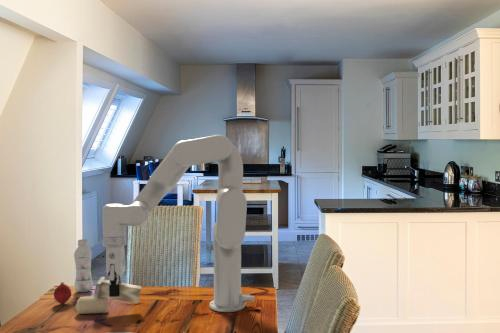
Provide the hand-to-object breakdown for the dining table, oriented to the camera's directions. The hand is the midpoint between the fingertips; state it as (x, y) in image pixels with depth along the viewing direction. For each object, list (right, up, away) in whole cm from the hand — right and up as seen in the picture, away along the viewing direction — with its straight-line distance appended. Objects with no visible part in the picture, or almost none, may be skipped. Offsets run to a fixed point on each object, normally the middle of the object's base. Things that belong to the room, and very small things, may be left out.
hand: (115, 294), depth 164 cm
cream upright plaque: (0, -1, 0) cm, 1 cm away
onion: (-21, -6, +8) cm, 23 cm away
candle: (-3, -3, 0) cm, 4 cm away
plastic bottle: (-18, -5, +23) cm, 30 cm away
